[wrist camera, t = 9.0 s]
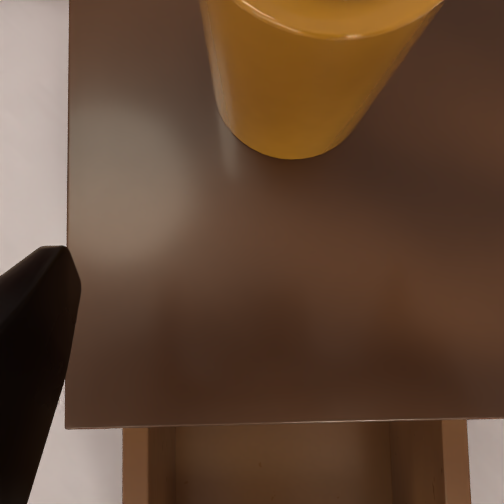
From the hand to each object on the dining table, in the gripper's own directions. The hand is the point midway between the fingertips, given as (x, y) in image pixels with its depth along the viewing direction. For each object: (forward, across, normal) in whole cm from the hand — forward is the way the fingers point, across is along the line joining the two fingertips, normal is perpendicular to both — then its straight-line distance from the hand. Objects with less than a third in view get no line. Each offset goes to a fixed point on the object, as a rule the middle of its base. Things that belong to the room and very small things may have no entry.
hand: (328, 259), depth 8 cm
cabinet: (+11, 0, +7) cm, 13 cm away
